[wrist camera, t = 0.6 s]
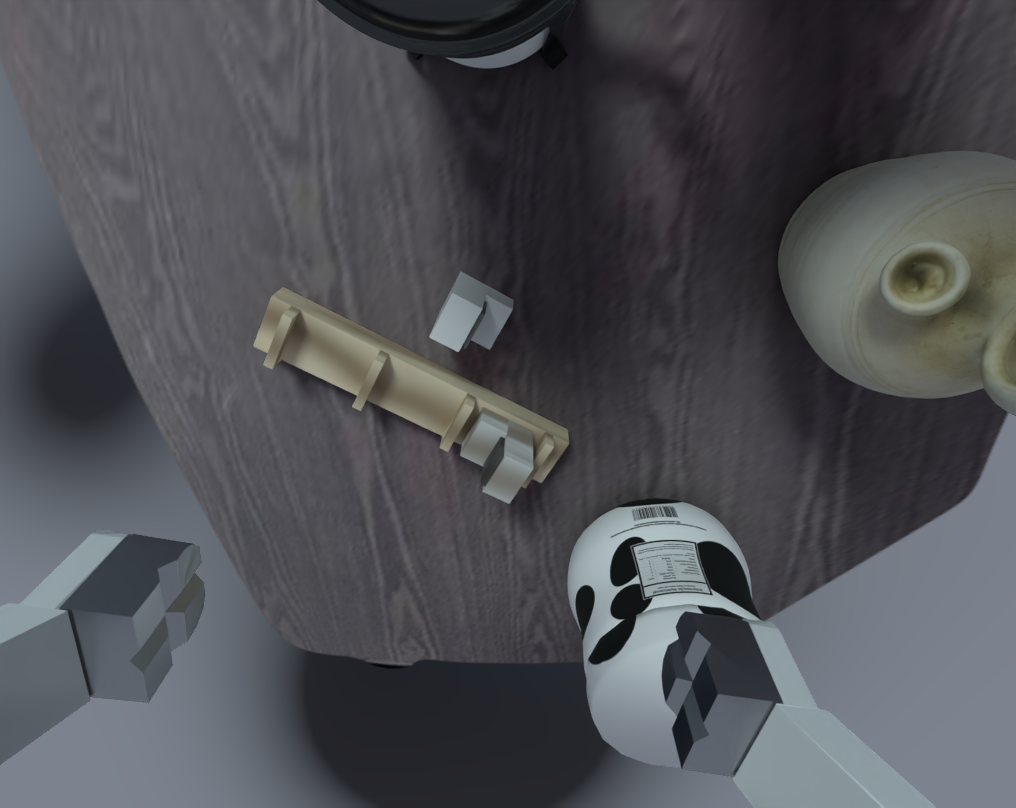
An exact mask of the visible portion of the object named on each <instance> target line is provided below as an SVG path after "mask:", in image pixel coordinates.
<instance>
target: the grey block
mask: <svg viewBox="0 0 1016 808" xmlns="http://www.w3.org/2000/svg"><path fill="white" fill-rule="evenodd" d="M513 303H514V300H513V299H511V298H509V297H507V296H505V295H504V294H502V293H500V292H498V291H496V290H494V289H492V288H491V287H489V286H487V285H485V284H483V283H481V282H480V281H478V280H476V279H474V278H472V277H470V276H468V275H467V274H465V273H463V272H460V274H459V275H458V277H457V279H456V281H455V283H454V285H453V287H452V289H451V291H450V293H449V295H448V297H447V299H446V301H445V303H444V305H443V307H442V308H441V310H440V312H439V315H438V317H437V320H436V322H435V325H434V327H433V329H432V332H431V334H430V337H429V338H431V339H433V340H435V341H437V342H439V343H441V344H443V345H445V346H447V347H449V348H451V349H453V350H455V351H457V352H459V350H460V349H461V347H462V348H464V349H466V348H467V346H468V344H469V342H470V341H471V340H472V341H474V342H476V343H478V344H480V345H482V346H483V347H485V348H487V349H489V350H490V349H491V347H492V345H493V343H494V342H495V340H496V338H497V336H498V335H499V333H500V331H501V329H502V328H503V326H504V324H505V323H506V321H507V319H508V317H509V316H510V314H511V312H512V310H513Z"/></svg>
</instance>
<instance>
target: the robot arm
mask: <svg viewBox="0 0 1016 808" xmlns="http://www.w3.org/2000/svg"><path fill="white" fill-rule="evenodd" d="M201 563H202V561H201V554H200V547H199V546H196V545H195V544H191V543H185V542H179V541H172V540H166V539H161V538H154V537H148V536H142V535H136V534H133V535H132V534H125V533H119V532H114V531H108V530H100V531H97V532H95V533H93V534H91V535H90V536H89V537H88V538H87V539H85V541H83V542H82V543H81V544H80V545H79V546H78V547H77V548H76V549H75V550H74V551H73V552H72V553H71V554H70V555H69V556H68V557H67V558H66V559H65V560H64V561H63V562H62V563H61V564H60V565H59V566H58V567H57V568H56V569H55V570H54V571H53V572H52V573H51V574H50V575H49V576H48V577H47V578H46V579H45V580H44V581H43V582H42V583H41V584H40V585H38V586H37V587H36V588H35V589H34V590H33V591H32V592H31V593H30V595H28V596H27V597H26V598H25V599H24V600H23V601H22V602H21V603H20V604H13V603H8V604H5V605H3V606H1V607H0V765H1V764H2V763H3V762H5V761H6V760H7V759H9V758H10V757H12V756H13V755H15V754H16V753H17V752H19V751H20V750H21V749H23V748H24V747H26V746H27V745H29V744H30V743H31V742H33V741H34V740H36V739H37V738H38V737H39V736H41V735H43V734H44V733H45V732H47V731H48V730H50V729H51V728H52V727H54V726H55V725H57V724H58V723H59V722H61V721H62V720H64V719H65V718H66V717H68V716H69V715H71V714H72V713H73V712H75V711H76V710H78V709H79V708H80V707H82V706H83V705H85V704H86V703H87V702H89V701H90V697H95V698H105V699H116V700H126V701H137V702H148V703H149V701H150V700H151V698H152V696H153V695H154V693H155V692H156V690H157V689H158V687H159V686H160V684H161V683H162V681H163V679H164V678H165V676H166V675H167V673H168V672H169V670H170V668H171V667H172V665H173V664H172V656H171V651H172V650H174V649H176V648H177V647H179V646H181V645H182V644H184V643H185V642H187V641H188V640H189V638H190V636H191V635H192V633H193V631H194V630H195V628H196V627H197V624H198V621H199V618H200V616H201V613H202V610H203V606H204V598H205V588H204V582H203V581H202V580H201V579H200V578H199V577H198V576H197V575H196V573H195V572H196V570H197V569H198V567H199V566H200V564H201ZM676 631H677V634H678V638H679V639H677V640H676V641H674V642H673V643H671V644H670V645H668V647H667V650H666V653H665V655H664V658H663V665H662V675H661V677H662V689H663V693H664V698H665V703H666V704H667V705H668V706H669V708H670V709H671V710H672V711H673V712H674V713H675V714H676V716H677V718H676V720H675V722H674V725H673V727H672V732H673V736H674V740H675V744H676V749H677V753H678V757H679V761H680V765H681V769H685V770H692V771H698V772H704V773H711V774H718V775H724V776H731V777H734V779H733V781H734V782H735V783H736V785H737V786H738V787H739V789H740V790H741V791H742V793H743V794H744V795H745V797H746V798H747V800H748V801H749V802H750V804H751V805H752V806H753V808H936V807H935V806H934V805H933V804H932V803H931V802H929V801H928V800H927V799H926V798H925V797H924V796H923V795H922V794H920V793H919V792H918V791H917V790H916V789H915V788H914V787H913V786H912V785H910V784H909V783H908V782H907V781H906V780H905V779H904V778H903V777H901V776H900V775H899V774H898V773H897V772H896V771H895V770H893V769H892V768H891V767H890V766H889V765H888V764H887V763H886V762H885V761H884V760H882V759H881V758H880V757H879V756H878V755H877V754H876V753H875V752H873V751H872V750H871V749H870V748H869V747H868V746H866V744H865V743H863V742H862V741H861V740H860V739H859V738H858V737H857V736H856V735H854V734H853V733H852V732H851V731H850V730H849V729H848V728H847V727H845V726H844V725H843V724H842V723H841V722H840V721H839V720H838V719H836V718H835V717H834V716H833V715H832V714H831V713H830V712H829V711H827V710H822V709H818V707H817V705H816V703H815V701H814V699H813V697H812V695H811V693H810V691H809V689H808V687H807V685H806V683H805V681H804V679H803V677H802V675H801V673H800V671H799V669H798V667H797V665H796V663H795V661H794V659H793V657H792V655H791V653H790V651H789V649H788V647H787V645H786V643H785V641H784V639H783V637H782V635H781V633H780V631H779V629H778V627H777V626H776V625H774V624H773V623H772V622H766V621H758V620H750V619H740V618H733V617H725V616H718V615H710V614H702V613H694V612H686V611H685V612H684V613H683V614H682V615H681V616H680V618H679V620H678V622H677V625H676Z"/></svg>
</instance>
